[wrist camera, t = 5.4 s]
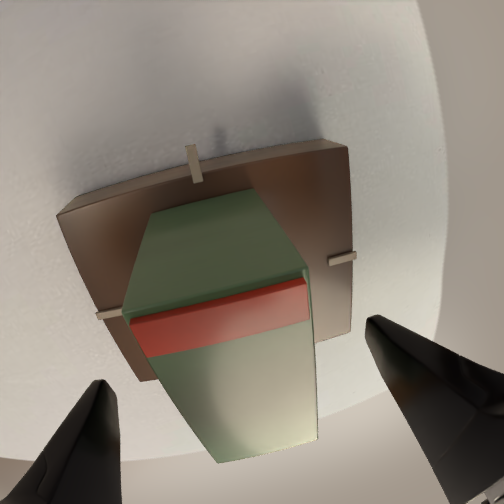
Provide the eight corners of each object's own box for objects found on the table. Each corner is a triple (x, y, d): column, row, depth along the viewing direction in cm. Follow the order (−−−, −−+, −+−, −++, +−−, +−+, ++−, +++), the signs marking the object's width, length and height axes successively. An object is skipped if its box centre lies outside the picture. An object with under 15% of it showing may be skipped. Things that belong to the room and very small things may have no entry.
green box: (280, 340, 15) (320, 444, 10) (204, 359, 15) (217, 469, 9) (253, 187, 11) (313, 272, 6) (150, 212, 11) (118, 319, 6)
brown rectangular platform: (323, 115, 13) (349, 119, 11) (335, 319, 19) (352, 346, 16) (66, 176, 12) (42, 192, 10) (148, 363, 18) (145, 396, 15)
